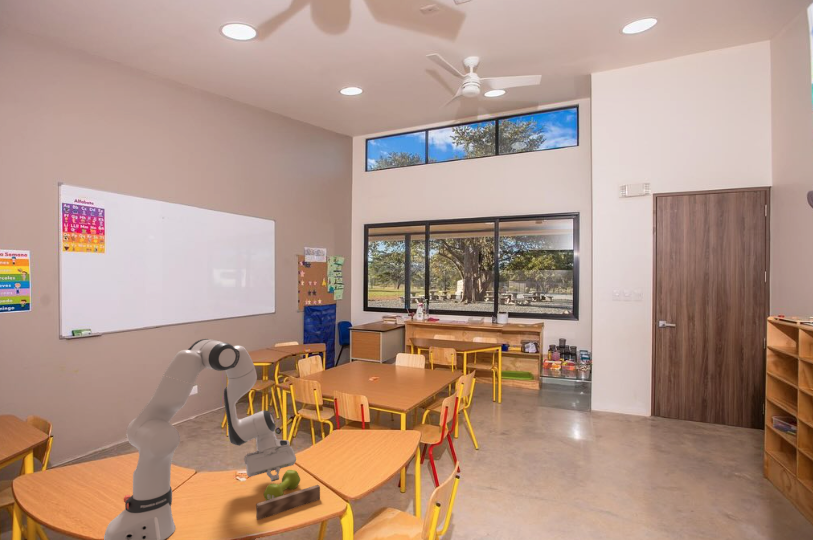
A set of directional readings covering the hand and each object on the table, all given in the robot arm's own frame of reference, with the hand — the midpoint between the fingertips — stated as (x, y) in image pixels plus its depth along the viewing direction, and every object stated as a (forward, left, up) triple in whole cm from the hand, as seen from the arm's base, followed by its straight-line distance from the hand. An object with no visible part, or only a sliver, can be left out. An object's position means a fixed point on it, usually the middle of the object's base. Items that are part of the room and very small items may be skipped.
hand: (275, 480), depth 171 cm
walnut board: (0, -17, -4) cm, 17 cm away
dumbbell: (+1, -5, -5) cm, 7 cm away
